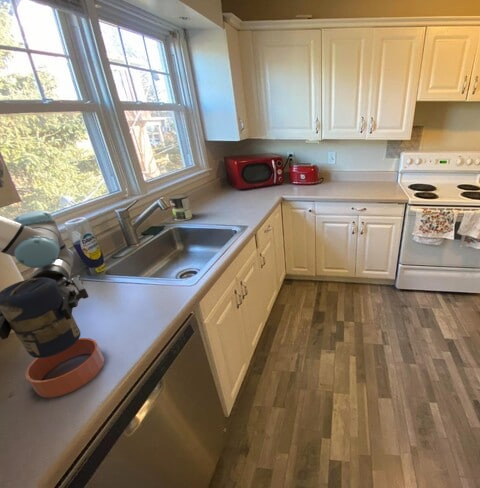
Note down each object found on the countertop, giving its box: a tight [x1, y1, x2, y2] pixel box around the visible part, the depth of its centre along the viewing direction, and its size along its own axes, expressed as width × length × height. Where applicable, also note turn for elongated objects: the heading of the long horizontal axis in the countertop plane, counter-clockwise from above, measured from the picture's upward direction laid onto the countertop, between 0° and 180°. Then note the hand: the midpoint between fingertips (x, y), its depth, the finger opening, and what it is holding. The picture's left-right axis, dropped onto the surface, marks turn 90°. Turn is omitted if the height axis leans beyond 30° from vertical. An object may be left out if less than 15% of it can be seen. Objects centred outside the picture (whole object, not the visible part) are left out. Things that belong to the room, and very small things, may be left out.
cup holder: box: [25, 337, 105, 398], centre depth 70 cm, size 13×13×6 cm
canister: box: [0, 277, 81, 359], centre depth 63 cm, size 10×10×18 cm
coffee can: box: [168, 193, 193, 222], centre depth 171 cm, size 10×10×14 cm
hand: (35, 323), depth 60 cm, fingers closed on canister, 9 cm apart
